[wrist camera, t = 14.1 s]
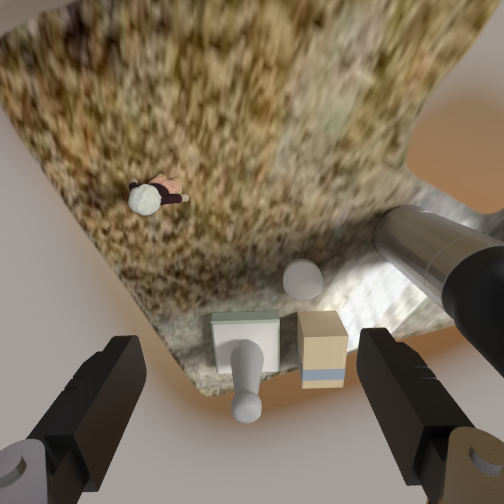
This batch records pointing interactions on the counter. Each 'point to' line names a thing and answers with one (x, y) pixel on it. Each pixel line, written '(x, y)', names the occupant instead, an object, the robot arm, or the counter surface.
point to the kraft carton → (321, 349)
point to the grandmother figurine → (155, 194)
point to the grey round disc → (302, 279)
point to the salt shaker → (246, 381)
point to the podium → (246, 336)
